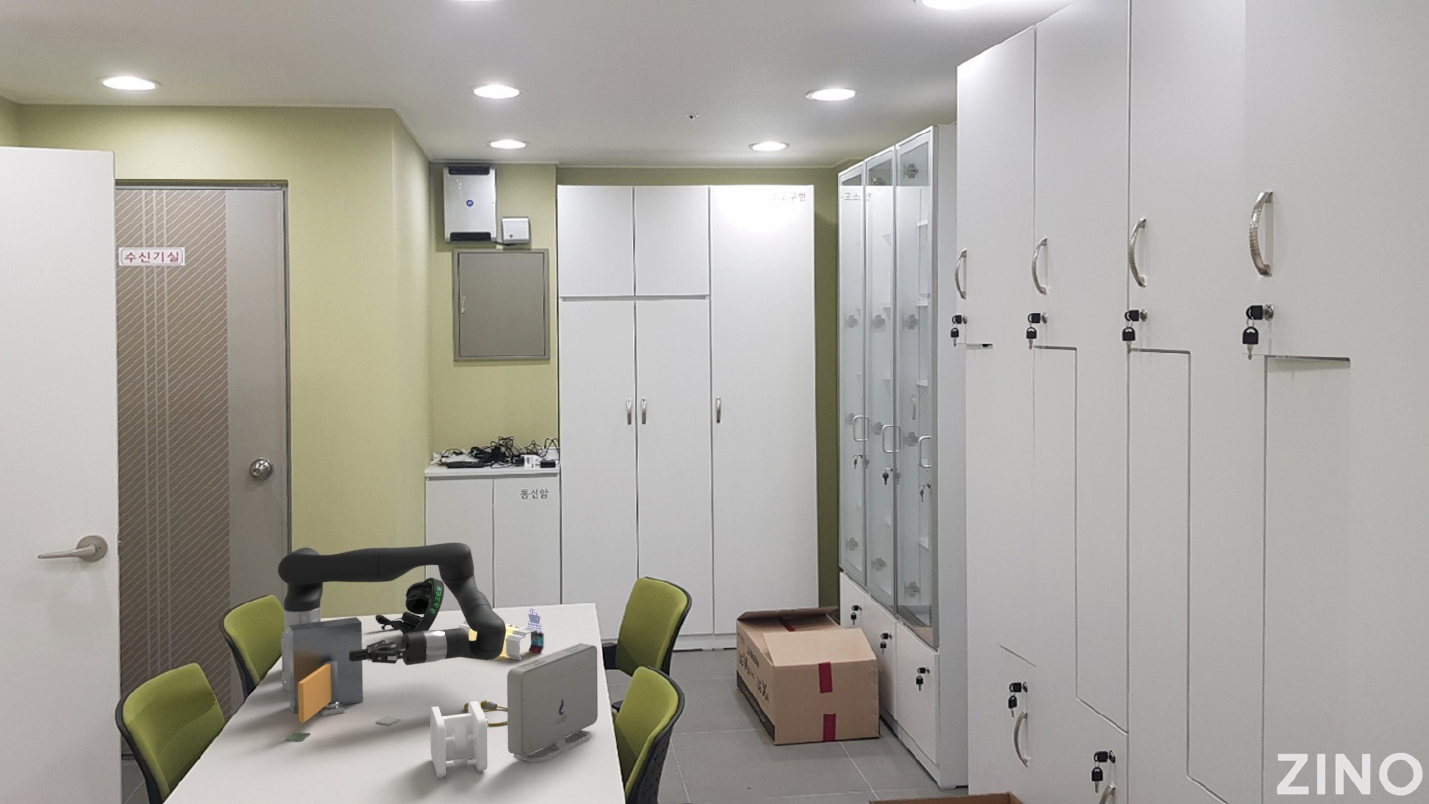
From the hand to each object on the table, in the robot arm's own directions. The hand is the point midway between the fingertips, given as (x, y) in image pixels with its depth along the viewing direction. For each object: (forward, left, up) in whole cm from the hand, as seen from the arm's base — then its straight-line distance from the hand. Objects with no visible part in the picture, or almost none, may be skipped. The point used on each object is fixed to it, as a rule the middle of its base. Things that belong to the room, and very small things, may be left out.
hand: (349, 656), depth 241 cm
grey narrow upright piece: (-25, +22, -16) cm, 37 cm away
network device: (+51, -1, -16) cm, 54 cm away
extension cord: (+29, +14, -17) cm, 36 cm away
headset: (-26, +71, -16) cm, 78 cm away
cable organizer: (+36, -16, -16) cm, 43 cm away
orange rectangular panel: (-9, 0, -14) cm, 16 cm away
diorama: (+7, +65, -17) cm, 67 cm away
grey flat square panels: (-7, +4, -16) cm, 18 cm away
